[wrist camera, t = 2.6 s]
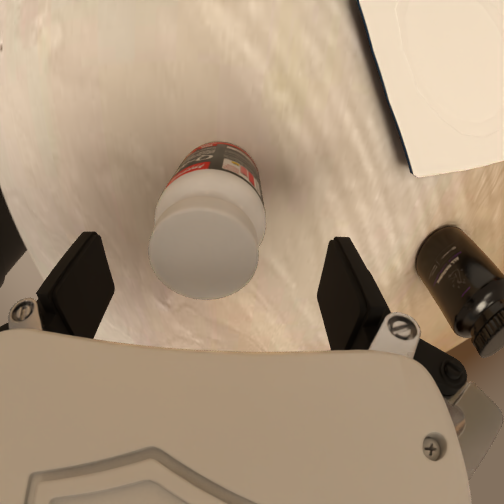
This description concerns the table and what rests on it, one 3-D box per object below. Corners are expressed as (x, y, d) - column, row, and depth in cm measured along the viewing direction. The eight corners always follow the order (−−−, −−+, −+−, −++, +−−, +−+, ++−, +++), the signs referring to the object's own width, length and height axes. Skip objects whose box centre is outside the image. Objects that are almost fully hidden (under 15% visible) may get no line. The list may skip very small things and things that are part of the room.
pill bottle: (207, 124, 18) (177, 164, 9) (274, 169, 20) (302, 243, 11) (165, 189, 20) (119, 272, 12) (229, 227, 22) (224, 324, 14)
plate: (527, 146, 17) (543, 155, 15) (388, 180, 20) (404, 193, 18) (492, -28, 6) (508, -30, 4) (313, -59, 9) (322, -74, 7)
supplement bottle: (419, 228, 23) (494, 321, 13) (468, 220, 22) (542, 295, 12) (408, 285, 26) (460, 376, 16) (455, 272, 26) (509, 350, 16)
